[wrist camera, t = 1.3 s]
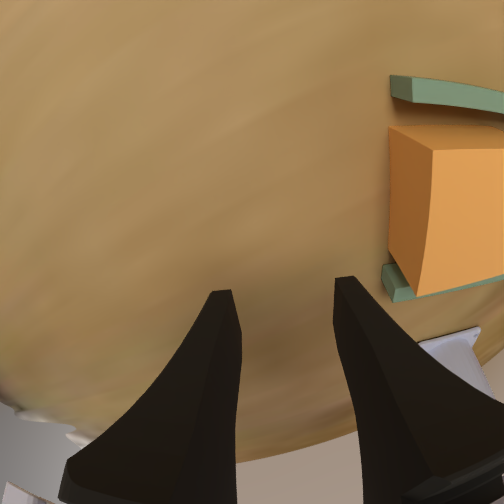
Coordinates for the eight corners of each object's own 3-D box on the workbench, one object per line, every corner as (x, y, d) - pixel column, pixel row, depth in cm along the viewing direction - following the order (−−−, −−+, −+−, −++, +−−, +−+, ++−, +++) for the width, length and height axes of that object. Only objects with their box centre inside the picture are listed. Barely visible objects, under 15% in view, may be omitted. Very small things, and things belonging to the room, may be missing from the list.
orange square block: (477, 230, 18) (514, 270, 14) (386, 246, 19) (416, 297, 14) (489, 125, 13) (541, 149, 9) (386, 125, 14) (432, 150, 10)
